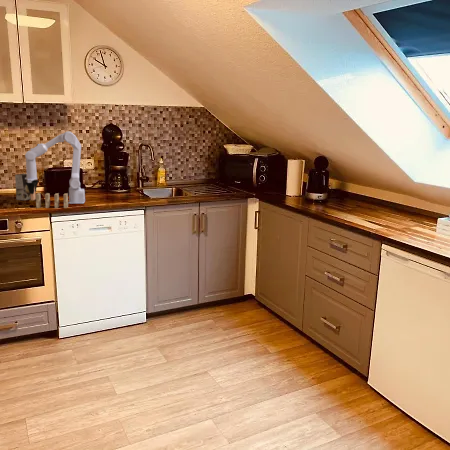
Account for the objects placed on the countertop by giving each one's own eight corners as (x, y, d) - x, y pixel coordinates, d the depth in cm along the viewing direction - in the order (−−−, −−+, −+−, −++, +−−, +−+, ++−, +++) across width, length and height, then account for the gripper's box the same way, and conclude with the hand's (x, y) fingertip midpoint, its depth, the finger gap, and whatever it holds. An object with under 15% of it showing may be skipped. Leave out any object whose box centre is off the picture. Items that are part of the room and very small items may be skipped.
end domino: (35, 198, 293) (34, 185, 292) (33, 200, 289) (32, 187, 287) (32, 198, 293) (32, 185, 291) (31, 200, 288) (30, 187, 286)
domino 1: (41, 206, 285) (40, 193, 283) (39, 207, 280) (38, 194, 279) (38, 206, 285) (37, 193, 283) (36, 207, 280) (35, 194, 278)
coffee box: (25, 200, 301) (23, 175, 297) (16, 199, 302) (14, 174, 298) (33, 198, 310) (32, 173, 306) (24, 197, 311) (23, 172, 307)
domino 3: (59, 206, 287) (58, 193, 285) (57, 208, 282) (57, 194, 280) (56, 206, 287) (55, 193, 285) (54, 207, 282) (54, 194, 280)
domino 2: (50, 206, 286) (49, 193, 284) (48, 207, 281) (47, 194, 280) (47, 206, 286) (46, 193, 284) (45, 207, 281) (45, 194, 279)
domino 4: (68, 206, 288) (67, 193, 286) (66, 208, 283) (66, 194, 281) (65, 206, 288) (64, 193, 286) (64, 208, 283) (63, 194, 281)
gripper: (27, 169, 293) (28, 190, 296) (21, 172, 279) (23, 194, 282) (39, 169, 294) (40, 191, 297) (34, 172, 280) (35, 195, 283)
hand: (32, 192), depth 290 cm, fingers closed on end domino, 5 cm apart
